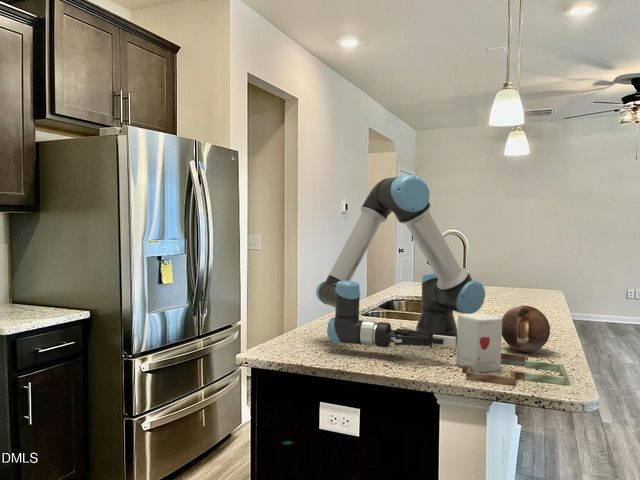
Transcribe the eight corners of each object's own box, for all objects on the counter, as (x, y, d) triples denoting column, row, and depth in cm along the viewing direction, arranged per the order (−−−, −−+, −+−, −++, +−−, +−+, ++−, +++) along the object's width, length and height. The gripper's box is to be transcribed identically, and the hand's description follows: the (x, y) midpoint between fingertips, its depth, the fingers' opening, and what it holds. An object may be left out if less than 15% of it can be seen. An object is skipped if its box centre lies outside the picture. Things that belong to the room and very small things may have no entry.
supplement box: (475, 373, 135) (477, 319, 134) (455, 364, 143) (456, 313, 143) (501, 370, 138) (503, 318, 138) (480, 362, 146) (481, 312, 146)
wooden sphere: (513, 343, 171) (514, 300, 170) (557, 352, 160) (558, 306, 159) (491, 350, 161) (492, 304, 161) (536, 360, 150) (538, 311, 149)
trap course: (460, 378, 130) (460, 371, 130) (467, 354, 154) (467, 349, 154) (571, 392, 121) (571, 385, 121) (560, 365, 145) (560, 359, 145)
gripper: (381, 341, 157) (457, 349, 149) (371, 351, 145) (453, 360, 136) (382, 318, 157) (458, 325, 148) (371, 325, 145) (453, 333, 136)
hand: (455, 342), depth 142 cm, fingers closed
